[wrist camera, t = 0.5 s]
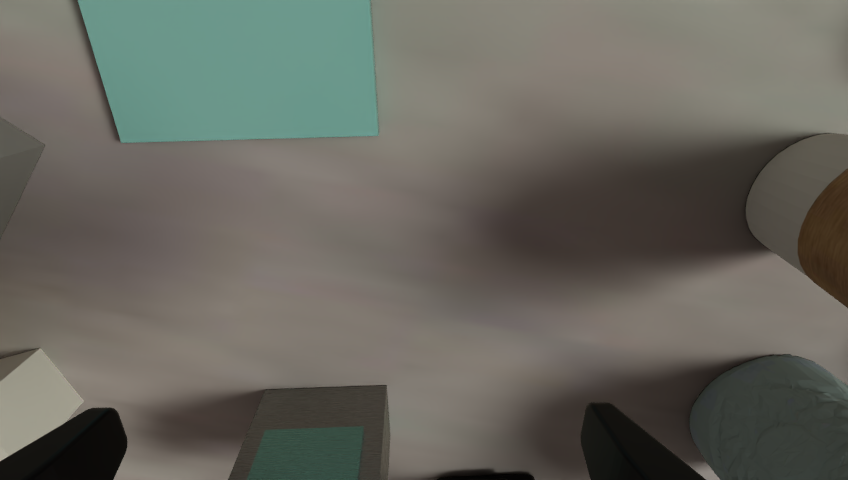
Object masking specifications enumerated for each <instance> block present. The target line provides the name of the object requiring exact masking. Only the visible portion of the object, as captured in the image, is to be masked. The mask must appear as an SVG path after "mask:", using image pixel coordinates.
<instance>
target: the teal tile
mask: <svg viewBox="0 0 848 480" xmlns="http://www.w3.org/2000/svg"><path fill="white" fill-rule="evenodd" d="M78 3H79V6H80V10H81V13H82V16H83V19H84V23H85V26H86V29H87V33H88V36H89V39H90V42H91V46H92V49H93V52H94V55H95V59H96V62H97V65H98V68H99V72H100V75H101V78H102V82H103V85H104V88H105V91H106V95H107V98H108V101H109V104H110V108H111V111H112V114H113V117H114V121H115V124H116V127H117V130H118V134H119V137H120V140H121V143H132V142H168V141H204V140H241V139H277V138H314V137H350V136H378V135H379V123H378V107H377V92H376V76H375V60H374V44H373V29H372V13H371V0H78Z"/></svg>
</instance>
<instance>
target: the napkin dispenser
mask: <svg viewBox="0 0 848 480" xmlns="http://www.w3.org/2000/svg"><path fill="white" fill-rule="evenodd" d="M389 449H390V426H389V412H388V399H387V385H384V386H357V387H329V388H301V389H273V390H265V392H264V394H263V397H262V399H261V402H260V404H259V406H258V409H257V411H256V414H255V416H254V419H253V421H252V423H251V426H250V428H249V431H248V433H247V435H246V438H245V440H244V443H243V445H242V447H241V450H240V452H239V455H238V457H237V460H236V462H235V464H234V467H233V469H232V472H231V474H230V476H229V479H228V480H388V468H389Z"/></svg>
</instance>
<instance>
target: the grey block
mask: <svg viewBox="0 0 848 480" xmlns="http://www.w3.org/2000/svg"><path fill="white" fill-rule="evenodd" d="M83 402H84V401H83V399H82V398H81V397H80V396H79V395H78V393H77V392H76V391H75V390H74V388H73V387H72V386H71V385H70V384H69V382H68V381H67V380H66V379H65V377H64V376H63V375H62V374H61V373H60V371H59V370H58V369H57V368H56V366H55V365H54V364H53V363H52V362H51V360H50V359H49V358H48V357H47V355H46V354H45V353H44V352H43V351H42V349H41V348H39V349H35V350H31V351H28V352H24V353H21V354H17V355H13V356H10V357H6V358H2V359H0V461H1V460H3V459H5V458H6V457H8V456H10V455H11V454H13V453H15V452H17V451H18V450H20V449H22V448H23V447H25V446H27V445H28V444H30V443H32V442H34V441H35V440H37V439H39V438H40V437H42V436H44V435H45V434H47V433H49V432H50V431H52V430H54V429H56V428H57V427H59V426H61V425H62V424H64V423H65V422H66V421H67V420H68V418H69V417H70V416H71V415H72V414H73V413H74V412H75V411H76V410H77V408H78V407H79V406H80V405H81V404H82V403H83Z"/></svg>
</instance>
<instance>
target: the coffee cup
mask: <svg viewBox="0 0 848 480" xmlns="http://www.w3.org/2000/svg"><path fill="white" fill-rule="evenodd" d="M746 220H747V223H748V226H749V229H750V231H751V232H752V234H753V235H754V237H755V238H757V239H758V240H759V241H760V242H761V243H762V244H763V245H765V246H766V247H767V248H769V249H770V250H771V251H773V252H774V253H776V254H777V255H778V256H780V257H781V258H783V259H784V260H785V261H787V262H788V263H790V264H791V265H792V266H794V267H795V268H797V269H798V270H800V271H801V272H802V273H804V274H805V275H807V276H808V277H809V278H810V279H811V280H812V281H813V282H814V283H816V284H817V285H818V286H820V287H821V288H822V289H824V290H825V291H826V292H828V293H829V294H830V295H832V296H833V297H834V298H835V299H837V300H838V301H839V302H841V303H842V304H843V305H845V306H846V307H847V308H848V135H845V134H831V133H829V134H822V135H815V136H812V137H809V138H806V139H803V140H801V141H799V142H797V143H795V144H793V145H791V146H789V147H787V148H786V149H785V150H783V151H782V152H780V153H779V154H777V155H776V156H775V157H774V158H773V159H772V160H771V161H770V162H769V163H768V164H767V165H766V166H765V167H764V168H763V170H762V171H761V172H760V173H759V175H758V176H757V178H756V180H755V182H754V183H753V185H752V187H751V190H750V192H749V195H748V198H747V203H746Z"/></svg>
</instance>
